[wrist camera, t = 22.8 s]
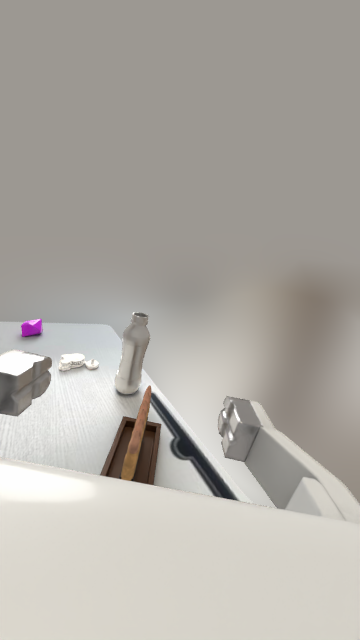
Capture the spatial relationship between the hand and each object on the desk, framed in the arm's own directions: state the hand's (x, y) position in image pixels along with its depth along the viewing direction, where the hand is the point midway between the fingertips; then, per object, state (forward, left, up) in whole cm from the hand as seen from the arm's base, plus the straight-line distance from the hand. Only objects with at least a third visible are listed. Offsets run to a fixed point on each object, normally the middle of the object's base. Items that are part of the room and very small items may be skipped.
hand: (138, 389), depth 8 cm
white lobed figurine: (+38, +22, -26) cm, 51 cm away
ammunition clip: (+14, 0, -26) cm, 29 cm away
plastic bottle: (+33, +6, -26) cm, 43 cm away
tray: (+15, 0, -26) cm, 30 cm away
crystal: (+50, +43, -26) cm, 71 cm away
